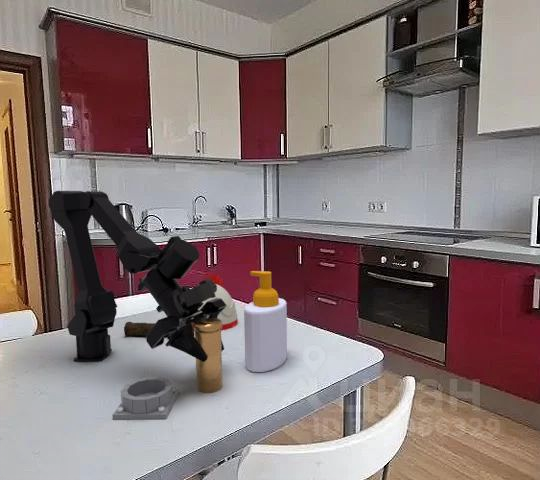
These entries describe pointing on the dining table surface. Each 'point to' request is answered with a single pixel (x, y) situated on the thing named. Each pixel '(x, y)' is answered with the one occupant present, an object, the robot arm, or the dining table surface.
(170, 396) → the socket
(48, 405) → the dining table surface
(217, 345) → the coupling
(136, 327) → the hand tool
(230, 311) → the kitchen timer
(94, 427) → the dining table surface
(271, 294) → the soap bottle
